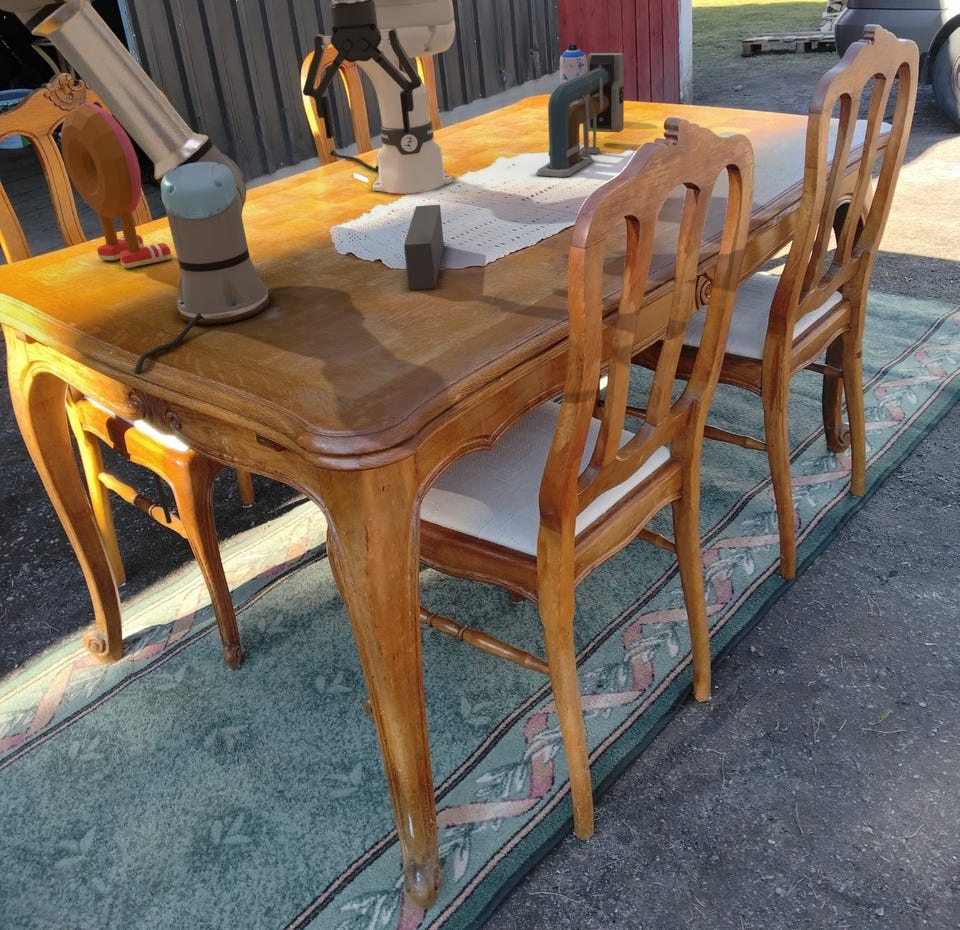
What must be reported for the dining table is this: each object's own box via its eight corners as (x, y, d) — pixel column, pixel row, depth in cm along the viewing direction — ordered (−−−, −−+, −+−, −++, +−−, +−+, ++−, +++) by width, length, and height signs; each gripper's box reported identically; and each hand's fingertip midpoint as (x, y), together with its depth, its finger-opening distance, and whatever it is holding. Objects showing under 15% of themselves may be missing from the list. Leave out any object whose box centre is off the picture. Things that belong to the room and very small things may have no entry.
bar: (435, 288, 167) (430, 243, 163) (409, 290, 167) (403, 244, 163) (444, 245, 187) (440, 204, 183) (420, 247, 187) (415, 206, 183)
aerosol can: (559, 122, 275) (557, 47, 265) (562, 117, 282) (559, 42, 272) (587, 121, 274) (585, 45, 263) (589, 115, 280) (587, 41, 270)
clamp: (567, 177, 223) (565, 79, 213) (533, 175, 227) (529, 78, 216) (623, 141, 249) (623, 53, 238) (592, 140, 253) (590, 53, 242)
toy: (184, 259, 191) (146, 100, 176) (138, 275, 185) (94, 111, 170) (129, 242, 204) (90, 93, 189) (85, 256, 198) (40, 102, 183)
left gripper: (428, -9, 160) (441, 124, 171) (281, 3, 162) (302, 134, 173) (424, -4, 154) (438, 133, 165) (271, 8, 156) (294, 143, 167)
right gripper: (452, -33, 181) (458, 47, 188) (344, -24, 182) (354, 55, 189) (450, -30, 175) (457, 52, 182) (339, -21, 177) (350, 60, 184)
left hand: (368, 134), depth 169 cm, fingers open, 13 cm apart
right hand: (404, 53), depth 186 cm, fingers open, 8 cm apart
